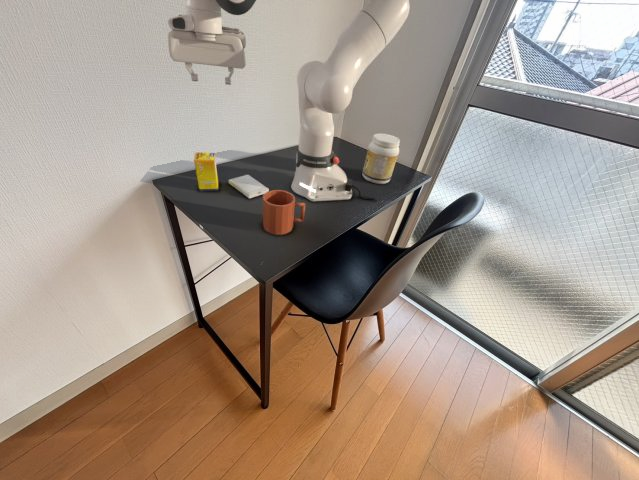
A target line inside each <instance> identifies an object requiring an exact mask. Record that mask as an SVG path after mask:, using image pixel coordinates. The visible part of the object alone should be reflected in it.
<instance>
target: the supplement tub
mask: <svg viewBox="0 0 639 480" xmlns="http://www.w3.org/2000/svg"><path fill="white" fill-rule="evenodd" d="M371 140H372V141H370V143H369V144H368V146H367V152H366V156H365V160H364V165H363V168H362V174H361V175H362V177H363V178H364V179H365V180H366V181H367V182H370V183H372V184H375V185H376V184H377V185H384V184H387V183H389V182H390V181H391V180H392V176H393V172H394V169H395V167H396V166H395V165H396V163H397V159H398V157H399V155H400V148H399V147H400V142H401V139H400V138H399V137H397V136H395V135H392V134H388V133H382V132H381V133H375V134H373V136H372V138H371Z"/></svg>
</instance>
